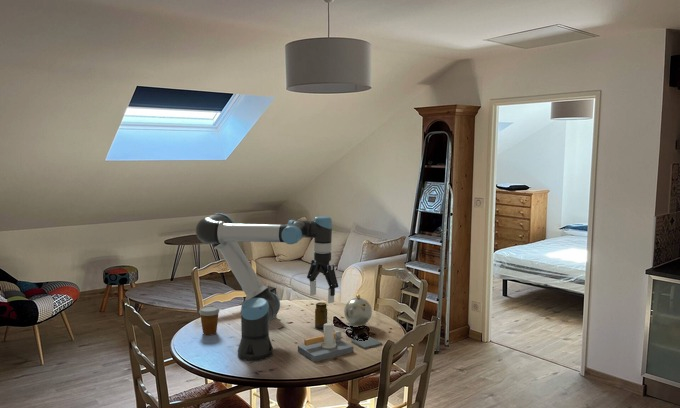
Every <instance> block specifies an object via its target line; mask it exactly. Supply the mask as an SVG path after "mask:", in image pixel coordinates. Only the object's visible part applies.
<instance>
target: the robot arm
mask: <svg viewBox="0 0 680 408" xmlns="http://www.w3.org/2000/svg"><path fill="white" fill-rule="evenodd" d="M332 224H333V222H332V218H331V217H330V216H327V215H318V216H315V217H314V220H302V219H299V220H298V219H290V220H288V221H287V224H275V223H273V224H271V223H266V224H265V223H234V221H233V219H232V218H231V217H230V216H229V215H227V214H225V213H214V214H212V215H209V216H206V217H203V218H201V219H200V220H199V221H198V222H197V223H196V227H195V236H196V237H197V239H198V240H199V241H200V242H201V243H203V244H208V245H209V244H210V245H212V247H213V248H214V250H218V251H219V252H220V254H221V255H222V257H223V258H224V260H225V262H226V263H227V265H228V268H230V271H231V272H232V274H233V276H234V277H235V278H236V280H237V283H238V284H239V285H240V287H241V289H242V290H243V292H244V295H245V300H244V301H243V302H242V303H241V307H240V322H241V323H240V325H241V328H240V331H241V338H240V340H239V341H240V342H239V345H238V348H237V357H238V358H239V359H241V360H244V361H250V362H253V361H255V362H258V361H263V360H267V359H270V358H271V357H272V356H273V354H274V347H273V344H272V341H271V339H270V331H269V329H270V326H269V325H270V322H271V321H272V320H274V319H275V318H274V317H275V316H276V315H277V316H278V313H279V311H280V308H281V301H280V298H279V297H278V295H277V293H276V294H274V293H272V292H270V290H269V288H268V287H267V286H268V285H263V283H262V281H261V280H260V278H259V276H258V275H257V273H256V271H255V269H254V268H253V267H252V264H251V263H250V261H249V259H248V258H247V257H246V255H245V253H244V252H243V250H242V248H241V246H240V245H239V243H238V242H246V243H247V242H249V243H252V242H253V243H257V242H259V243H285V244H287V245H295V244H297V243H299V242H300V241H301V240H302V239H304V238H307V239H308V238H309V239H314V240H313V241H314V243H313V246H314V247H313V251H314V253H313V259H311V261H310V262H311V263H310V267H309V270H308V272H307V276H306V278H307V279H308V280H309V287H310V289H309V295H310V296H311V297H312V296H316V295H317V278H318V275H319V274H323V276H324V277H325V280H326V282H327V284H328V289H327V290H328V293H327V295H328V296H327V303H328V304H333V303H335V294H336V289H337V288H339V282H338V279H337V276H336V275H337V274H336V272H335V265H334V264H331V265H330V262H331V261H332V252H331V251H332V238H333V237H332V234H333V233H332V232H333V225H332ZM273 318H274V319H273Z"/></svg>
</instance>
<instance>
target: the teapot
mask: <svg viewBox="0 0 680 408" xmlns="http://www.w3.org/2000/svg"><path fill="white" fill-rule="evenodd" d="M343 310H344V317H345V319H346V321H347V322H348V326H349V327H350V326H353V327H358V326H362V325H365V326H366V327H367V325H368V322H369V321H370V320H371V317H372V314H373V310H372V306H371V304H370V303H369V302H368V300H366V299H365V298H363V297H361V295H360V294H357V295H355V297H354V298H353V297H352V298H351V299H350V300H348V302H347V303H346V304H345V306H344V309H343Z"/></svg>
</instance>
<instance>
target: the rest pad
mask: <svg viewBox="0 0 680 408" xmlns="http://www.w3.org/2000/svg"><path fill="white" fill-rule="evenodd" d="M351 343H352V344H354V345H356V346H358V347H360V348H361V349H364V350H365V349H366V350H367V349H371V348H375V347H378V346H382V345H383V342H381V341H380V340H378V339H375V338H374V337H371V336H369V338H368V340H365V341H357V340H356V339H353V340H352V339H351ZM370 347H371V348H370Z"/></svg>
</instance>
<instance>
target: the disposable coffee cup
mask: <svg viewBox="0 0 680 408" xmlns="http://www.w3.org/2000/svg"><path fill="white" fill-rule="evenodd" d="M198 313H199V316H200V321H201V327H202V334H203V333H204V334H207V335H206V336H210V335H209V334H213V335H216V334H217V332H218V322H219V313H220V309H219V306H216V305H215V306H214V305H207V306H202V307H200V308H199V311H198ZM215 333H216V334H215ZM204 334H203V335H204Z"/></svg>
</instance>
